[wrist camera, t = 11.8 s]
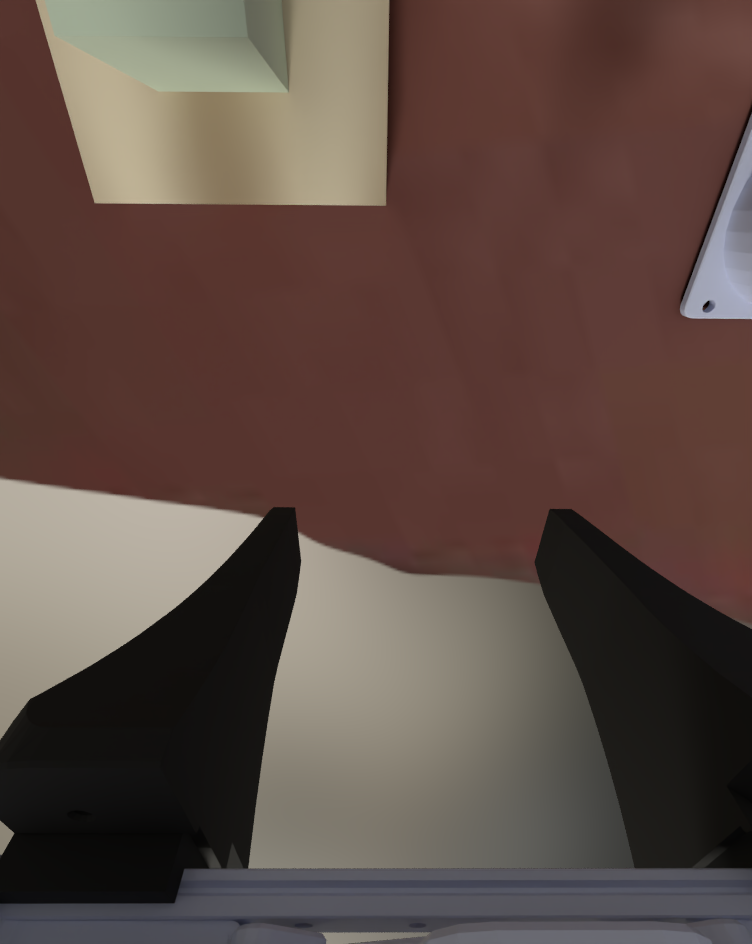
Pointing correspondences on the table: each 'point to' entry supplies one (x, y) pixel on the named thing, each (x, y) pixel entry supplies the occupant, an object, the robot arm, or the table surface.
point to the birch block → (243, 121)
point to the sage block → (181, 41)
